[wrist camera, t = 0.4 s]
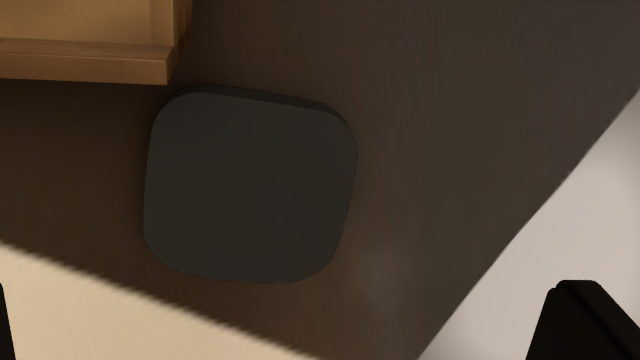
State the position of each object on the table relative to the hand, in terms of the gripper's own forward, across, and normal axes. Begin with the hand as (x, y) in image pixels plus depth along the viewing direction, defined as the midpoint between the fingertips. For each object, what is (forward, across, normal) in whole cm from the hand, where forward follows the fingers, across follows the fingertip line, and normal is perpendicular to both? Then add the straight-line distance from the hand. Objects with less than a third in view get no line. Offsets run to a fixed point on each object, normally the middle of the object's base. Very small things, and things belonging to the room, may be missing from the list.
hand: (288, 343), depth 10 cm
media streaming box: (+31, 0, +12) cm, 34 cm away
